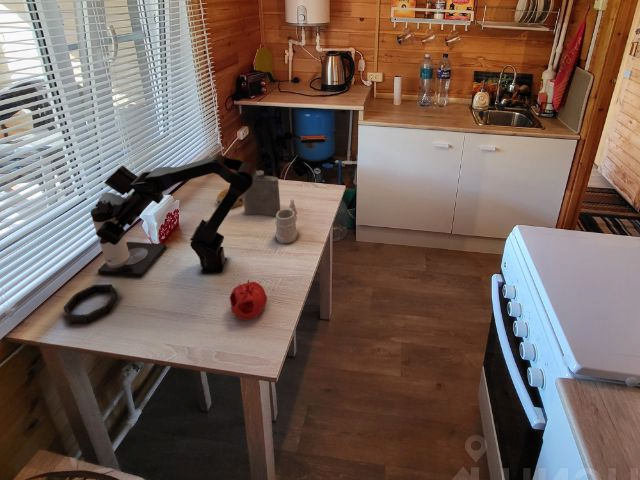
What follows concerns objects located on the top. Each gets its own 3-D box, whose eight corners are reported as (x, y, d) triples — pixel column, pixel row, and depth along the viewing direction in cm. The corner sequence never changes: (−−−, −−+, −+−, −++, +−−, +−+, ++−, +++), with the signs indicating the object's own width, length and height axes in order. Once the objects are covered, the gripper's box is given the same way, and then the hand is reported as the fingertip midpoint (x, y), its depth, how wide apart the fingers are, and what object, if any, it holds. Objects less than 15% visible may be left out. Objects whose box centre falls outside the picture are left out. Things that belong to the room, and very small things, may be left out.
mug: (272, 241, 134) (269, 212, 129) (286, 222, 144) (284, 195, 140) (292, 245, 132) (290, 216, 127) (305, 226, 142) (304, 198, 138)
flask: (247, 209, 153) (242, 169, 146) (282, 211, 152) (279, 170, 145) (243, 214, 149) (239, 173, 143) (279, 216, 148) (276, 175, 142)
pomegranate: (249, 291, 112) (246, 265, 109) (275, 304, 108) (272, 278, 104) (222, 314, 104) (218, 287, 101) (249, 330, 100) (245, 303, 96)
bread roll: (235, 217, 154) (241, 201, 151) (210, 207, 152) (217, 191, 150) (242, 203, 163) (248, 189, 160) (219, 194, 161) (225, 179, 159)
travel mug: (111, 272, 114) (93, 215, 107) (104, 262, 118) (86, 207, 111) (133, 261, 118) (118, 206, 111) (126, 251, 122) (110, 198, 115)
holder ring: (125, 290, 112) (123, 283, 111) (102, 323, 101) (100, 316, 100) (84, 291, 111) (82, 285, 111) (57, 324, 101) (54, 317, 100)
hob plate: (166, 247, 130) (165, 243, 130) (141, 277, 117) (140, 272, 117) (128, 245, 131) (126, 241, 131) (98, 274, 118) (97, 269, 118)
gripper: (127, 171, 118) (98, 204, 121) (94, 204, 101) (62, 241, 103) (158, 192, 122) (130, 223, 124) (132, 226, 104) (100, 262, 107)
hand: (107, 236), depth 115 cm, fingers closed on travel mug, 6 cm apart
